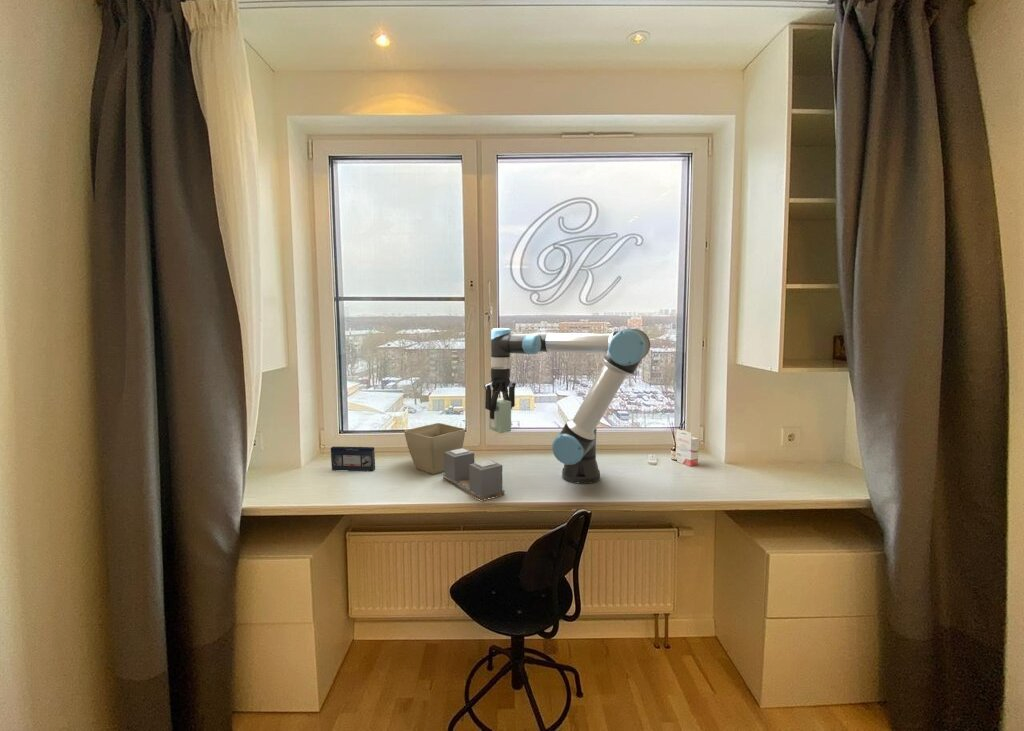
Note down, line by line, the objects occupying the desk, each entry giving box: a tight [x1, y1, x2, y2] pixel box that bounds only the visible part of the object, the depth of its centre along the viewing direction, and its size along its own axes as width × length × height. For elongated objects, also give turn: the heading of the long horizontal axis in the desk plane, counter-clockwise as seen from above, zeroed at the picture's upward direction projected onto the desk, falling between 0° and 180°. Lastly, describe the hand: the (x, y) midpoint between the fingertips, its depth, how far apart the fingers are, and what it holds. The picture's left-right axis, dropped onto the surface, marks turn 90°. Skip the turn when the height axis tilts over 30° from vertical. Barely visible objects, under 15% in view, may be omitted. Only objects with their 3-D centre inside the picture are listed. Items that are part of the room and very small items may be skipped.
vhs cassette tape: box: [330, 446, 376, 472], centre depth 191 cm, size 18×3×10 cm, turn 83°
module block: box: [488, 397, 512, 434], centre depth 178 cm, size 5×8×12 cm, turn 35°
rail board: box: [442, 474, 506, 501], centre depth 171 cm, size 10×28×2 cm, turn 37°
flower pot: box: [403, 422, 466, 475], centre depth 192 cm, size 19×19×17 cm
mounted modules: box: [444, 447, 504, 497], centre depth 171 cm, size 9×27×11 cm, turn 37°
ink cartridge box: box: [675, 428, 699, 467], centre depth 197 cm, size 9×5×15 cm, turn 28°
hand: (500, 425), depth 179 cm, fingers closed on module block, 5 cm apart
